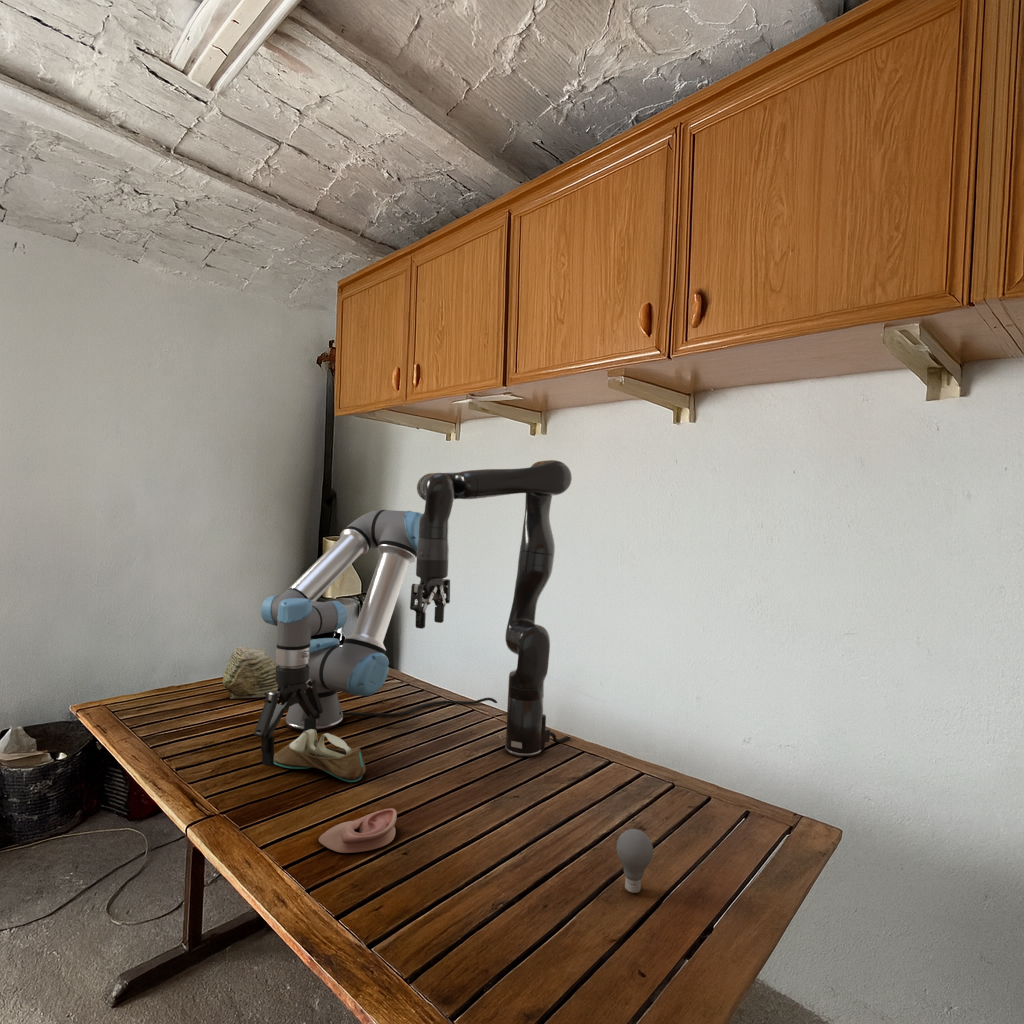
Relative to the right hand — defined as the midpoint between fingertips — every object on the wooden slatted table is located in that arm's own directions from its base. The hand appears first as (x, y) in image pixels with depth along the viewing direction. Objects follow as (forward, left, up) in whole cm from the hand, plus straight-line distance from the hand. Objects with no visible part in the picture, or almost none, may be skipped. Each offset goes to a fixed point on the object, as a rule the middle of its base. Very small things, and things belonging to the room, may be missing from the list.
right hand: (429, 625), depth 150 cm
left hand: (+29, -14, -32) cm, 45 cm away
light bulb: (-16, +59, -34) cm, 70 cm away
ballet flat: (+23, -7, -34) cm, 42 cm away
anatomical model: (+22, +26, -34) cm, 48 cm away
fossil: (+31, -69, -34) cm, 83 cm away
